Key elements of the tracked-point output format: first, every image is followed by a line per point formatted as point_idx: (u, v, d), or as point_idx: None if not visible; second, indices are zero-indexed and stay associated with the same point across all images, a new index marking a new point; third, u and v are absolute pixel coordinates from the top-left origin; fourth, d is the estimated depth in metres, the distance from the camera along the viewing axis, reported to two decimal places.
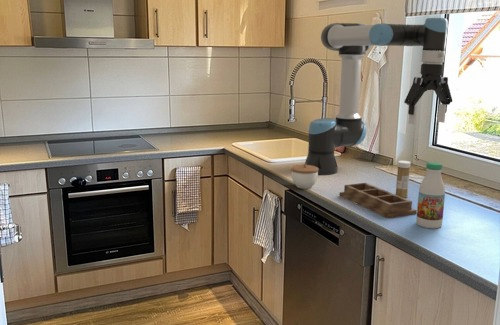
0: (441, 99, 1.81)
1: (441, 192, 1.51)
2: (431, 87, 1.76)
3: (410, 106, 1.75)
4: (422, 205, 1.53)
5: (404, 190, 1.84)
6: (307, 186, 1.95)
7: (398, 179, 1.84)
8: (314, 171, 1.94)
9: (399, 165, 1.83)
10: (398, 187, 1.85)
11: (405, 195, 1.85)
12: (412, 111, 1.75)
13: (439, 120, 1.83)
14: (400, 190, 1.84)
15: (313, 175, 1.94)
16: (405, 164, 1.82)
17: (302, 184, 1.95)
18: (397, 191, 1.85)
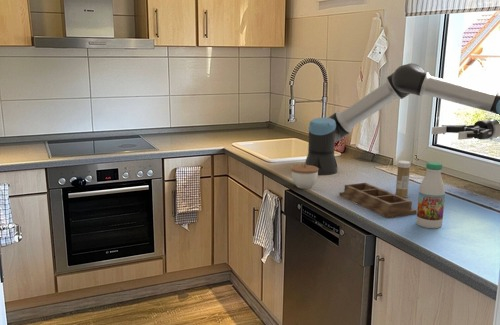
0: (450, 129, 1.97)
1: (441, 192, 1.51)
2: None
3: (475, 135, 1.84)
4: (422, 205, 1.53)
5: (404, 190, 1.84)
6: (307, 186, 1.95)
7: (398, 179, 1.84)
8: (314, 171, 1.94)
9: (399, 165, 1.83)
10: (398, 187, 1.85)
11: (405, 195, 1.85)
12: None
13: (434, 130, 1.95)
14: (400, 190, 1.84)
15: (313, 175, 1.94)
16: (405, 164, 1.82)
17: (302, 184, 1.95)
18: (397, 191, 1.85)
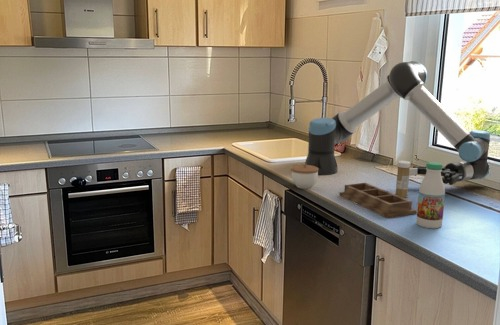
0: (421, 171, 1.96)
1: (441, 192, 1.51)
2: None
3: (445, 181, 1.82)
4: (422, 205, 1.53)
5: (404, 190, 1.84)
6: (307, 186, 1.95)
7: (398, 179, 1.84)
8: (314, 171, 1.94)
9: (399, 165, 1.83)
10: (398, 187, 1.85)
11: (405, 195, 1.85)
12: None
13: None
14: (400, 190, 1.84)
15: (313, 175, 1.94)
16: (405, 164, 1.82)
17: (302, 184, 1.95)
18: (397, 191, 1.85)
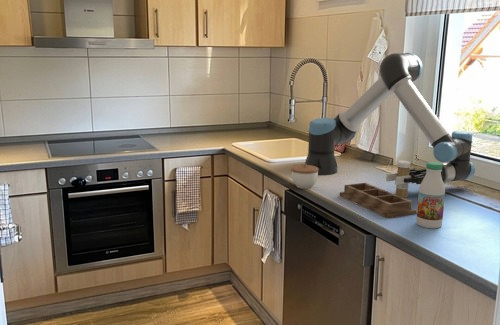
0: None
1: (441, 192, 1.51)
2: None
3: (412, 180, 1.82)
4: (422, 205, 1.53)
5: (404, 190, 1.84)
6: (307, 186, 1.95)
7: None
8: (314, 171, 1.94)
9: (399, 165, 1.83)
10: (398, 187, 1.85)
11: (405, 195, 1.85)
12: None
13: (388, 176, 1.85)
14: (400, 190, 1.84)
15: (313, 175, 1.94)
16: (405, 164, 1.82)
17: (302, 184, 1.95)
18: (397, 191, 1.85)
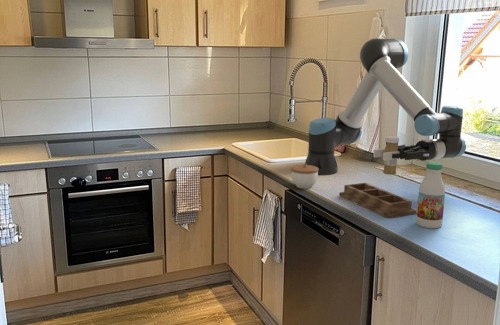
0: None
1: (441, 192, 1.51)
2: None
3: (400, 156, 1.73)
4: (422, 205, 1.53)
5: (393, 166, 1.75)
6: (307, 186, 1.95)
7: None
8: (314, 171, 1.94)
9: (387, 140, 1.74)
10: (386, 163, 1.76)
11: (393, 172, 1.76)
12: None
13: (376, 152, 1.76)
14: (389, 167, 1.75)
15: (313, 175, 1.94)
16: (393, 139, 1.73)
17: (302, 184, 1.95)
18: (385, 168, 1.76)
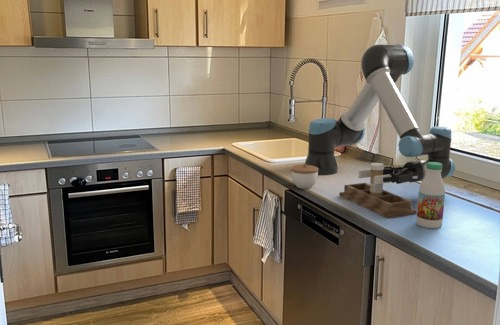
0: None
1: (441, 192, 1.51)
2: None
3: (392, 180, 1.70)
4: (422, 205, 1.53)
5: (379, 193, 1.74)
6: (307, 186, 1.95)
7: (371, 182, 1.75)
8: (314, 171, 1.94)
9: (372, 167, 1.74)
10: (372, 191, 1.75)
11: None
12: None
13: (360, 173, 1.77)
14: (374, 194, 1.75)
15: (313, 175, 1.94)
16: (378, 166, 1.72)
17: (302, 184, 1.95)
18: None
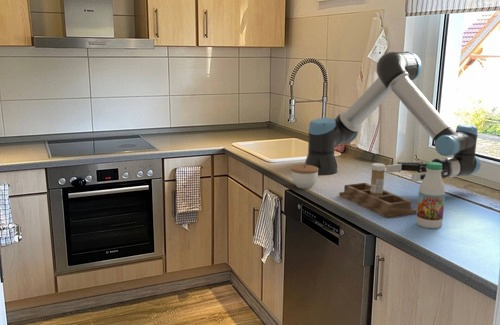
0: (406, 167, 1.87)
1: (441, 192, 1.51)
2: None
3: None
4: (422, 205, 1.53)
5: (379, 194, 1.74)
6: (307, 186, 1.95)
7: (372, 182, 1.75)
8: (314, 171, 1.94)
9: (373, 168, 1.73)
10: (372, 191, 1.75)
11: None
12: None
13: (388, 168, 1.85)
14: (375, 194, 1.75)
15: (313, 175, 1.94)
16: (379, 167, 1.72)
17: (302, 184, 1.95)
18: None
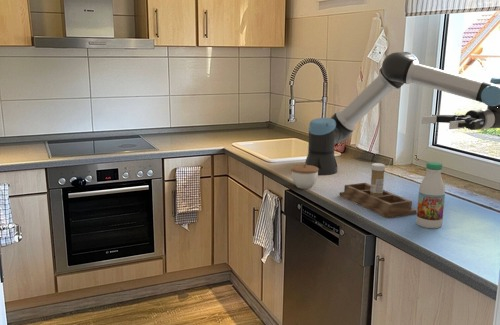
0: (440, 119, 1.89)
1: (441, 192, 1.51)
2: None
3: (466, 125, 1.76)
4: (422, 205, 1.53)
5: (379, 194, 1.74)
6: (307, 186, 1.95)
7: (372, 183, 1.75)
8: (314, 171, 1.94)
9: (373, 168, 1.73)
10: (372, 191, 1.75)
11: None
12: (461, 126, 1.76)
13: (424, 119, 1.87)
14: (375, 194, 1.75)
15: (313, 175, 1.94)
16: (379, 167, 1.72)
17: (302, 184, 1.95)
18: None
